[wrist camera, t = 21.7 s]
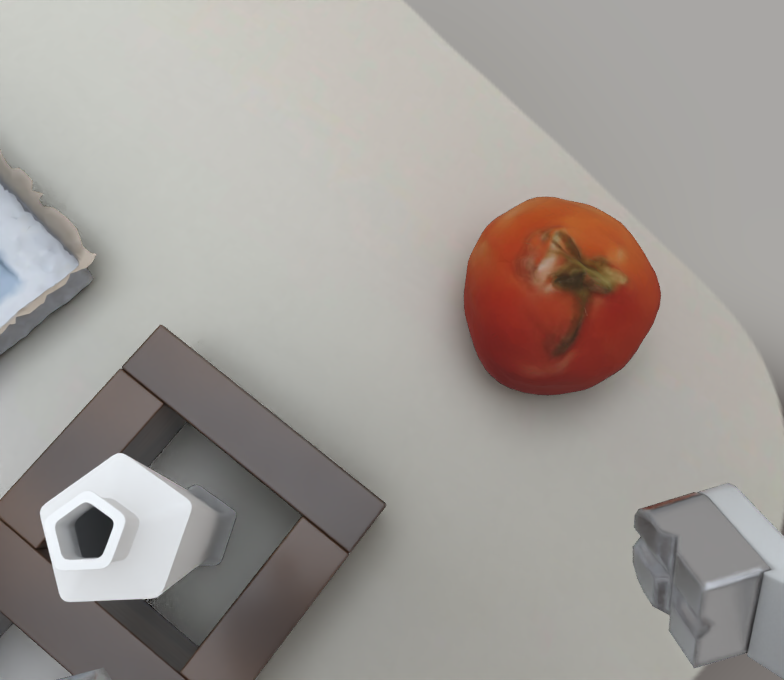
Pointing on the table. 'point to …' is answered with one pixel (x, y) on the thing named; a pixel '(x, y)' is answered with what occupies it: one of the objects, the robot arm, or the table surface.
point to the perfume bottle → (131, 532)
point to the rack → (143, 443)
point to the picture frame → (34, 257)
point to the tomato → (558, 296)
